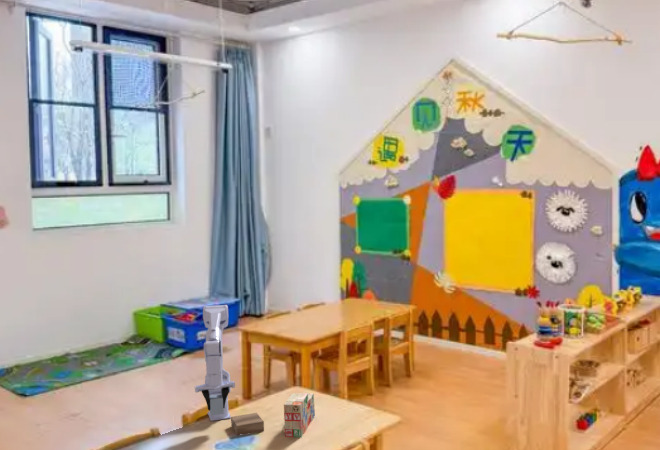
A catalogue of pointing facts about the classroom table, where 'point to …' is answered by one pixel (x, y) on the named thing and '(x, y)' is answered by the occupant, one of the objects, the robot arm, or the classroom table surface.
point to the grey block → (216, 404)
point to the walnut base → (247, 423)
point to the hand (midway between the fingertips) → (216, 408)
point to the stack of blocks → (298, 413)
